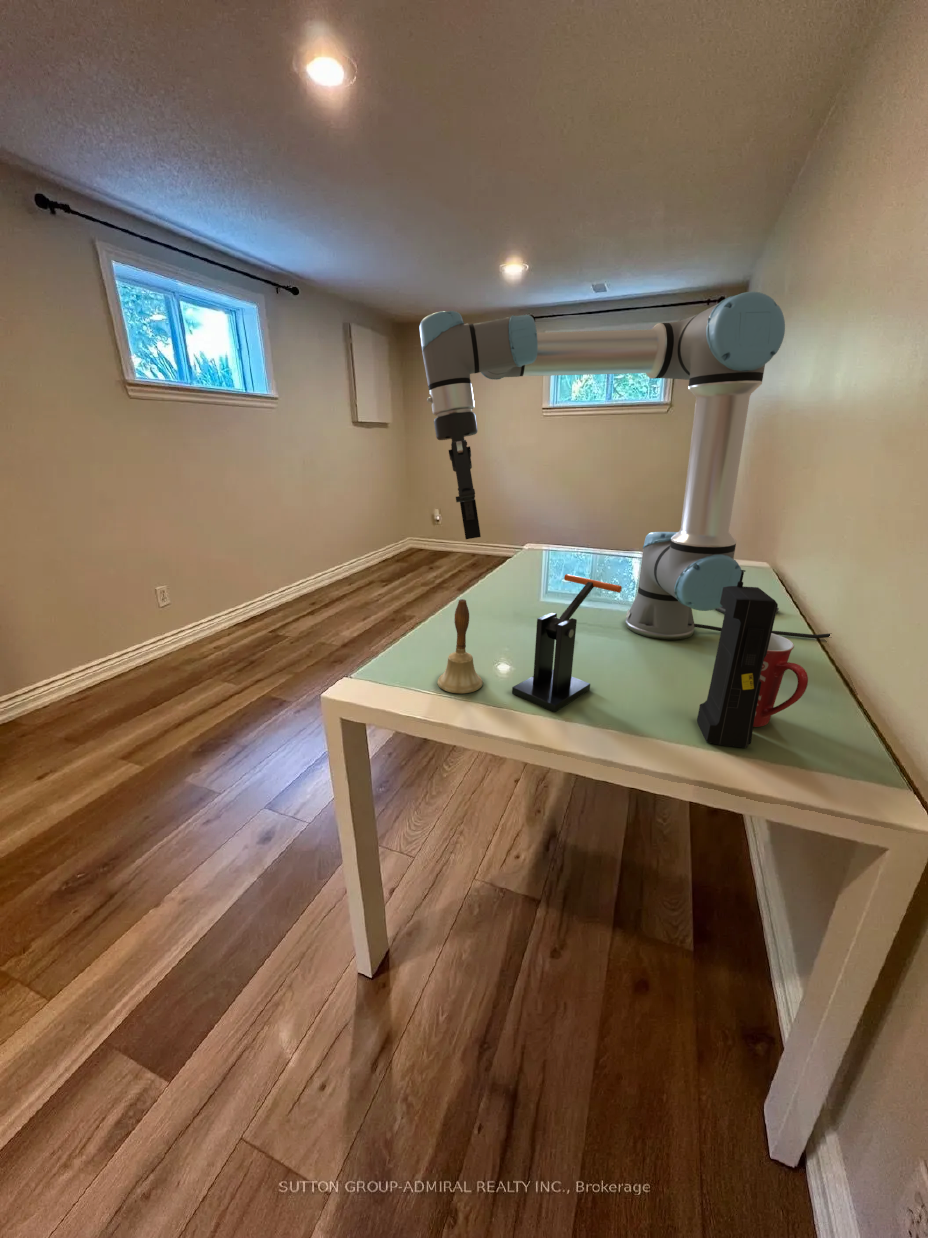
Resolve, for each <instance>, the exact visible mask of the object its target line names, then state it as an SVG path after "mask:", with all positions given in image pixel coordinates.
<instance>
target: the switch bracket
mask: <svg viewBox="0 0 928 1238" xmlns="http://www.w3.org/2000/svg"><path fill="white" fill-rule="evenodd" d="M553 617H556V618H558V613H555V612H550V613H547V614H544V615H542V616H540V617H538V618H536V619H537V620H536V633H535V644H534V645H535V648H534V662H533V676H531V677H529V678H527V679H525V680H523V681H521V682H519V683H517V684H516V685H514V686H512V689H511V694H512V695H515V696H516V697H519V698H521V699H523V700H526V701H528V702H530V703H533V704H535V705H537V706H539V707H542V708H543V709H545V710H548V711H550V712H552V713H556V712H557V711H559V710H561V709H562V708H564V707H565V706H567V705H569V704H570V703H572V702H573V701H575V700H577V699H578V698H580V697H581V696H583V695H584V694H586V693H588V692H589V691H590V690H591V683H590V682H587V681H585V680H582V679H579V678H577V677H574V676H572V673H573V665H574V655H575V644H576V632H577V621H578V619H576V618H573V617H570V619H569V620H567V621H564V622H562V623H560V624H557V634H556V640H555V639H552V638H548V635H547V632H546V630H545V627H546V626H547V625H548V624H549V622H550V621H551V620H552V619H553Z"/></svg>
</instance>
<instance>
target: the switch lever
mask: <svg viewBox="0 0 928 1238" xmlns="http://www.w3.org/2000/svg"><path fill="white" fill-rule="evenodd" d="M563 580H564V581H565V582H570V583H573V584H574V583H575V584H579V585H583V587H582V589H581V590H580V591H579V592H578V593H577V594H576V596H575V597H574V598H573V600H572V601H571V602H570V604H569V605H568V606H567V608H566V609H565V610H564V611H563V613H562V614H561V615H560V617H557V618H556V617H553V619H552V620H551V621H550V622H549V624H548V625H547V626H546V627H545V630H546V632H547V635H548V638H552V639H555V641H556V634H557V624H560V623H562V622H564V621H567V620H569V619H571V618H572V616H573V615H574V614H575V612H576V610H578V608H579V607H580V606H581V604H583V602H584V601H585V599H586V598H587V597H588V596H589V594H590V593H591V592H592V591H593V589H594V588H596V589H601V590H604V591H605V590H606V591H609V592H610V591H611V592H614V593H621V592H622V590H623V586H621V585H620V584H619V585H618V584H614V583H609V582H604V581H600V580H596V579H591V578H587V577H583V576H577V575H572V574H568V573H566V574H564V577H563Z"/></svg>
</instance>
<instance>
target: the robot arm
mask: <svg viewBox="0 0 928 1238" xmlns="http://www.w3.org/2000/svg"><path fill="white" fill-rule="evenodd" d="M418 328H419V329H418V330H419V338H420V345H421V353H422V358H423V364H424V365H423V366H424V370H425V377H426V383H427V387H428V391H429V397H427V398H426V403H427V404H431V409H432V410H431V412H432V415H433V416H436V417H435V418H434V420H433V425H434V432H435V438H436V439H437V440H438V441H448V440H451V443H450V449H448V456H449V461H451V466H452V467H451V468H452V471H453V472H454V473H455V475H456V483H457V491H458V496H455V502H456V503H459V505H460V512H461V517H462V524H463V525H462V526H463V531H464V538H465V540H471V539H477V538H481V537H482V535H481V528H480V523H479V521H480V520H479V515H478V508H477V501H476V490H475V488H474V484H473V476H472V471H471V469H472V468H473V465H472V464H473V463H472V450H471V446H469V445H468V441H467V440H466V439H465V437H466V438H467V437H471V436H475V435H477V433H478V424H477V416H476V413H475V412H474V411H473V410H474V409H475V407H476V406H475V400H474V392H473V385H472V381H471V374H479V373H480V374H481V375H483V377H485V378H487V379H489V380H497V381H498V380H501V379H503V378H519V377H545V376H546V377H549V376H550V377H551V376H585V375H586V376H587V375H589V376H590V375H622V374H625V375H626V374H646V376H647V377H648V378H649V379H672V380H686V381H688V391H689V392H690V393H691V394H693V396H694V397H695V404H694V405H695V406H694V414H693V423H692V430H691V439H690V448H689V455H688V463H687V471H686V480H685V489H684V495H683V496H684V497H683V506H682V513H681V523H680V529H679V530H678V531H652V532H649V533H648V534H646V535H645V538H644V543H643V546H642V556H641V563H640V570H639V578H638V586H637V593H636V596H635V598H634V600H633V602H632V604H631V606H630V607H629V608H628V610H627V611H626V613H625V616H626V617H625V623H624V624H625V627H626V628H627V629H628V630H630V631H631V632H633V633H635V634H637V635H640V636H643V637H647V638H652V639H656V640H668V641H669V640H670V641H671V640H672V641H675V640H683V639H684V640H685V639H688V638H691V636H693V635H694V631H695V628H698V629H703V630H704V629H705V630H711V631H717V632H721V630H722V627H719V626H714V625H708V624H703V623H702V624H701V623H695V619H694V614H693V610H695V611H699V612H708V611H714V610H715V609H717V608H719V607H722V605H721V604H720V600H721V595H722V590H723V587H727V586H737V583H738V582H739V581H740V577H741V572H742V571H740V570H742V567H741V566H740V564H739V563H738V561H737V560H736V559H734V558H735V553H736V546H737V540H736V538H735V537H734V536H733V535H732V533H730V526H731V520H732V514H733V508H734V502H735V494H736V489H737V481H738V476H739V470H740V469H739V467H740V462H741V458H742V457H741V456H742V450H743V443H744V437H745V430H746V423H747V418H748V412H749V411H748V410H749V405H750V398H751V395H752V394H753V393H754V392H755V391H756V390H757V389H758V388H759V387H760V386H761V385H763V379H764V373H765V367H766V365H767V363H769V362H770V361H771V360H772V359H773V358H774V356H776V354H777V353H778V352H779V350H780V348H781V347H782V344H783V342H784V337H785V333H786V321H785V317H784V312H783V311H782V308H781V307H780V305H778V304H777V302H776V301H775V300H774V298H773V297H771V296H769V295H768V294H766V293H763V292H760V291H746V292H742V293H739V294H736V295H730V296H728V297H726V298H724V299H722V300H721V301H719V302H718V303H716V304H715V305H713V306H711V307H709V308H707V309H705V310H703V311H701V312H699V313H697V314H695V315H692V316H690V317H687V318H684V319H680V320H677V321H670V322H657V323H656V324H655V325H654V326H653V327H652V328H650V329H649V328H648V329H619V330H618V329H616V330H584V331H580V330H579V331H551V332H549V331H548V332H547V331H546V332H544V331H543V332H538V331H537V325H536V321H535V319H534V317H533V316H532V315H531V314H523V315H515V314H514V315H511V316H508V317H502V318H498V319H492V320H487V321H481V322H475V323H465V322H464V320H463V317H462V315H461V313H460V312H458V311H456V310H449V311H448V310H447V311H446V310H442V311H437V312H433V313H430V314H428V315H427V316H425V317H424V318H422V320H421V321H420V323H419V327H418ZM772 633H773V634H776V635H779V636H784V637H785V636H786V637H795V638H796V637H797V638H805V639H825V638H826V639H827V638H830V637H829V636H830V634H831V633H820V634H817V633H816V634H814V633H813V634H811V633H802V632H791V631H781V630H772Z"/></svg>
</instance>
